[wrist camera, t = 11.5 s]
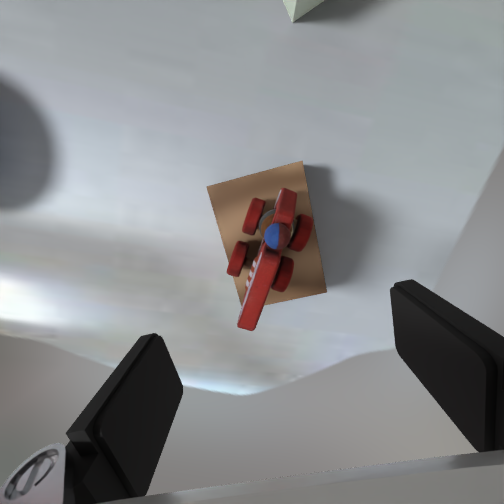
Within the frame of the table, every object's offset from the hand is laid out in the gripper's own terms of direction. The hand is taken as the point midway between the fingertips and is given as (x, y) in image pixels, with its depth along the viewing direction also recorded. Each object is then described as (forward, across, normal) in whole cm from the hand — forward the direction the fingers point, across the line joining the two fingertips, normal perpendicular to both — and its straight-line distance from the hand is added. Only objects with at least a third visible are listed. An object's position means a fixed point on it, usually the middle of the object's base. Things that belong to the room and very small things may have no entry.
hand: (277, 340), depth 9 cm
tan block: (+23, 0, +1) cm, 23 cm away
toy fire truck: (+19, 0, +1) cm, 19 cm away
